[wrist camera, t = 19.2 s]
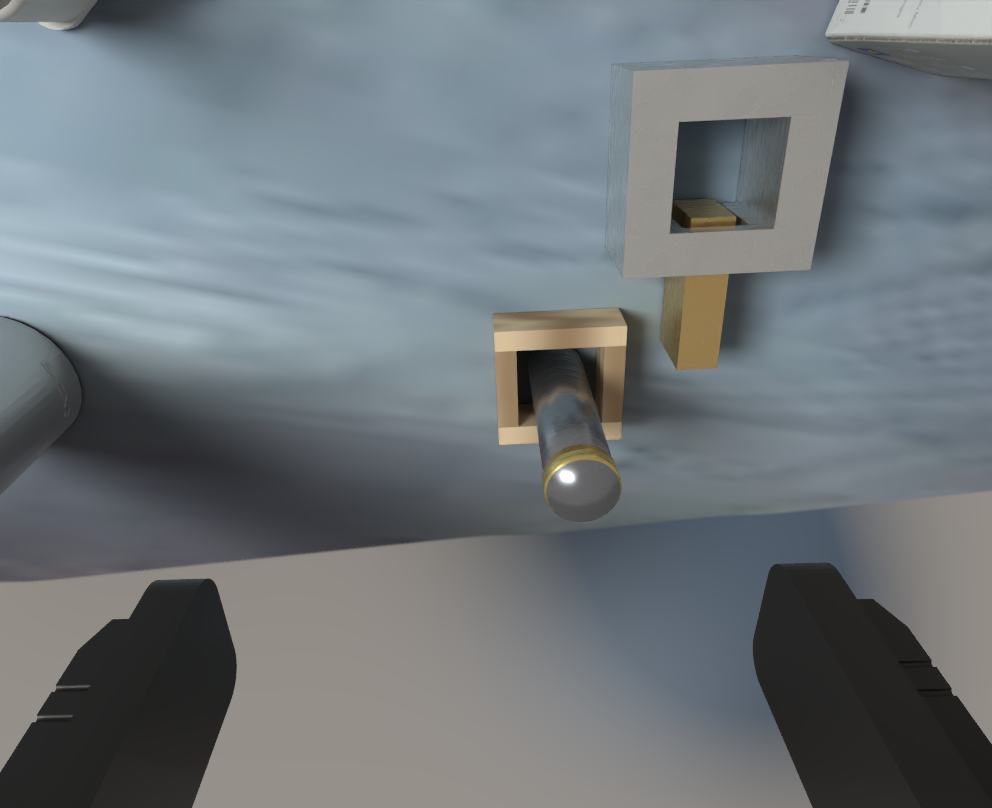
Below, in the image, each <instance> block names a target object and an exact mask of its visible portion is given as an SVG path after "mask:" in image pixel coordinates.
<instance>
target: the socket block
mask: <svg viewBox="0 0 992 808" xmlns="http://www.w3.org/2000/svg"><path fill="white" fill-rule="evenodd" d="M848 65H849V61H846V60H836V59H826V58H817V57H807V56H797V55H796V56H774V57H753V58H732V59H711V60H690V61H669V62H648V63H627V64H612V65H611V92H610V120H609V148H608V176H607V203H606V231H605V248H606V250H607V251H608V253H609V255H610V257H611V258H612V260H613V262H614V264H615V265H616V267H617V269H618V271H619V272H620V274H621V276H622V278H623V279H630V278H651V277H672V276H693V275H714V274H735V273H756V272H777V271H798V270H810V269H811V264H812V258H813V253H814V248H815V242H816V237H817V232H818V226H819V221H820V215H821V210H822V205H823V199H824V194H825V189H826V183H827V178H828V173H829V167H830V162H831V156H832V151H833V146H834V140H835V135H836V130H837V124H838V119H839V114H840V108H841V103H842V97H843V92H844V87H845V81H846V76H847V71H848ZM732 119H746V126H745V134H744V142H743V150H742V158H741V166H740V174H739V182H738V190H737V198H736V202H735V203H721V205H722V206H723V207H724V208H726V209H727V210H728V211H730V212H731V213H732V214H734V215H735V216H736V223H735V226H715V227H694V228H681V227H680V226H679V225H678V224H677V222H676V221H675V220H674V219H673V218H672V217H671V212H672V200H673V187H674V175H675V163H676V151H677V138H678V126H679V122H689V121H711V120H732Z"/></svg>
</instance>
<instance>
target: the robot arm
mask: <svg viewBox="0 0 992 808" xmlns="http://www.w3.org/2000/svg"><path fill="white" fill-rule="evenodd" d="M81 403H82V390H81V386H80V383H79V379H78V376H77V374H76V372H75V370H74V368H73V366H72V364H71V363H70V361H69V360H68V359H67V357H66V356H65V355H64V353H63V352H62V351H61V350H60V349H59V348H58V347H57V346H56V345H55V344H54V343H52V342H51V341H50V340H49V339H48V338H46V337H45V336H43V335H42V334H40V333H39V332H38V331H36V330H34V329H32V328H30V327H28V326H26V325H24V324H22V323H20V322H17V321H14V320H10V319H7V318H4V317H0V495H1V494H2V493H3V492H4V491H5V490H6V489H7V488H8V487H9V486H10V485H11V484H12V483H13V482H14V481H15V480H16V479H17V478H18V477H19V476H20V475H21V474H22V473H23V472H24V471H25V470H26V469H27V468H28V467H29V466H30V465H31V464H32V463H33V462H34V461H35V460H36V459H37V458H38V457H39V456H40V455H41V454H42V453H43V452H44V451H45V450H46V449H47V448H48V447H49V446H50V445H51V444H52V443H53V442H54V441H55V440H56V439H57V438H58V437H59V436H60V435H61V434H62V433H64V432H65V431H66V430H67V429H68V428H69V427H70V426H71V425H72V424H73V422H74V420H75V419H76V417H77V416H78V414H79V411H80V407H81ZM753 658H754V665H755V670H756V674H757V677H758V681H759V683H760V686H761V688H762V691H763V692H764V695H765V698H766V700H767V702H768V704H769V707H770V709H771V711H772V714H773V716H774V718H775V721H776V723H777V725H778V728H779V730H780V732H781V735H782V737H783V739H784V742H785V744H786V746H787V749H788V751H789V753H790V756H791V758H792V760H793V763H794V765H795V767H796V770H797V772H798V774H799V777H800V779H801V781H802V784H803V786H804V788H805V791H806V793H807V795H808V798H809V800H810V802H811V805H812V807H813V808H992V744H991V743H990V741H989V740H988V739H987V737H986V736H985V734H984V733H983V732H982V730H981V729H980V728H979V726H978V725H977V723H976V722H975V720H974V719H973V718H972V716H971V715H970V714H969V712H968V711H967V709H966V708H965V707H964V705H963V704H962V702H961V701H960V699H959V698H958V697H957V696H953V694H952V692H951V687H950V685H949V684H948V683H947V681H946V680H945V679H944V677H943V676H942V674H941V673H940V672H939V670H938V669H937V667H933V666H932V664H931V659H930V657H929V656H928V655H927V653H926V652H925V651H924V649H923V648H922V646H921V645H920V644H919V642H918V641H917V640H916V638H915V636H914V635H913V634H912V632H911V631H910V630H909V628H908V627H907V626H906V625H905V624H903V623H902V622H901V621H900V620H898V619H897V618H896V617H895V616H893V615H892V614H891V613H890V612H888V611H887V610H886V609H885V608H883V607H882V606H881V605H880V604H878V603H877V602H876V601H875V600H873V599H856V597H855V596H854V594H853V593H852V591H851V590H850V588H849V587H848V585H847V584H846V582H845V580H844V579H843V578H842V576H841V575H840V573H839V572H838V570H837V569H836V568H835V567H834V566H833V565H831V564H830V563H795V564H775V565H773V566H772V567H771V569H770V571H769V574H768V578H767V582H766V587H765V591H764V595H763V600H762V604H761V608H760V612H759V618H758V621H757V626H756V629H755V634H754V639H753ZM236 669H237V664H236V653H235V649H234V645H233V642H232V639H231V635H230V631H229V628H228V624H227V621H226V617H225V614H224V610H223V607H222V603H221V600H220V596H219V593H218V589H217V587H216V585H215V583H214V581H212V580H211V579H181V580H157V581H154V582H152V583H151V584H150V585H149V587H148V588H147V589H146V591H145V592H144V594H143V596H142V598H141V599H140V601H139V603H138V604H137V606H136V608H135V610H134V611H133V613H132V615H131V616H130V618H129V619H117V620H116V619H113V620H111V621H110V622H109V623H108V624H107V625H106V626H105V627H104V628H102V629H101V630H100V631H99V632H98V633H97V634H96V635H95V636H93V637H92V638H91V639H90V640H89V641H88V642H87V643H86V644H84V645H83V646H82V647H81V648H80V649H79V650H78V651H77V653H76V654H75V656H74V658H73V659H72V661H71V662H70V664H69V665H68V667H67V669H66V670H65V672H64V673H63V675H62V677H61V678H60V680H59V681H58V683H57V684H56V691H55V692H51V694H50V695H49V697H48V699H47V700H46V702H45V703H44V705H43V706H42V708H41V709H40V711H39V713H38V714H37V716H38V718H37V721H36V722H33V723H32V724H31V725H30V727H29V728H28V730H27V731H26V733H25V735H24V736H23V738H22V739H21V741H20V742H19V744H18V746H17V747H16V749H15V750H14V752H13V753H12V756H11V757H10V758H9V760H8V761H7V763H6V764H5V766H4V768H3V769H2V771H1V772H0V808H192V806H193V803H194V800H195V798H196V795H197V792H198V789H199V787H200V784H201V781H202V778H203V776H204V773H205V770H206V767H207V765H208V762H209V759H210V756H211V754H212V751H213V748H214V745H215V743H216V740H217V737H218V734H219V731H220V729H221V726H222V723H223V721H224V718H225V715H226V712H227V709H228V707H229V704H230V701H231V698H232V695H233V691H234V687H235V681H236Z"/></svg>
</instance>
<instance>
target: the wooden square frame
mask: <svg viewBox="0 0 992 808" xmlns="http://www.w3.org/2000/svg"><path fill="white" fill-rule="evenodd" d="M493 322H494V344H495V365H496V387H497V409H498V429H499V445H506V444H527V443H539V440H538V433H537V426H536V419H535V413H534V406H533V404H518V391H517V357H516V351H525V350H546V349H567V348H588V347H597V355H596V386H595V401H594V402H595V405H596V409H597V412H598V415H599V418H600V421H601V425H602V428H603V431H604V434H605V438H606V440H612V439H621V431H622V413H623V395H624V377H625V359H626V340H627V324H626V322H625V320H624V318H623V316H622V314H621V312H620V310H619V308H602V309H581V310H560V311H539V312H518V313H497V314H493Z"/></svg>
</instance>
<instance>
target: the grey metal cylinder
mask: <svg viewBox="0 0 992 808" xmlns="http://www.w3.org/2000/svg"><path fill="white" fill-rule="evenodd" d="M528 372H529V379H530V385H531V392H532V399H533V406H534V413H535V419H536V426H537V433H538V440H539V446H540V453H541V460H542V467H543V476H542V479H543V487H544V494H545V499H546V502H547V504H548V505H549V507H550V508H551V509H552V511H554V512H555V513H556V514H557V515H559V516H560V517H562V518H564V519H567V520H570V521H576V522H585V521H591V520H595V519H598V518H600V517H602V516H604V515H605V514H607V513H608V512H609V511H610V510H612V508H613V507H614V506H615V505H616V503H617V501H618V500H619V497H620V495H621V490H622V484H621V479H620V476H619V473H618V470H617V466H616V464H615V461H614V460H613V458H612V457H611V454H610V451H609V447H608V444H607V441H606V438H605V434H604V431H603V428H602V425H601V421H600V418H599V415H598V412H597V409H596V405H595V402H594V399H593V396H592V392H591V389H590V386H589V383H588V379H587V376H586V373H585V370H584V367H583V363H582V360H581V357H580V355H579V353H578V352H577V351H576V350H575V349H574V348H567V349H546V350H536V351H535V352H534V353H533V355H532V356H531V358H530V360H529V364H528Z"/></svg>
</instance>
